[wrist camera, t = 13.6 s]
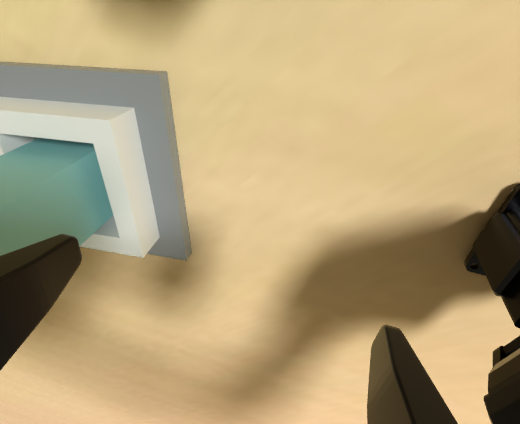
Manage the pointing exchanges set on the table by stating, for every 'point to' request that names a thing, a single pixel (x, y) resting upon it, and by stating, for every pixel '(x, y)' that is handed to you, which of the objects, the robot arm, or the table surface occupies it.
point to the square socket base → (108, 145)
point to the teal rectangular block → (50, 193)
